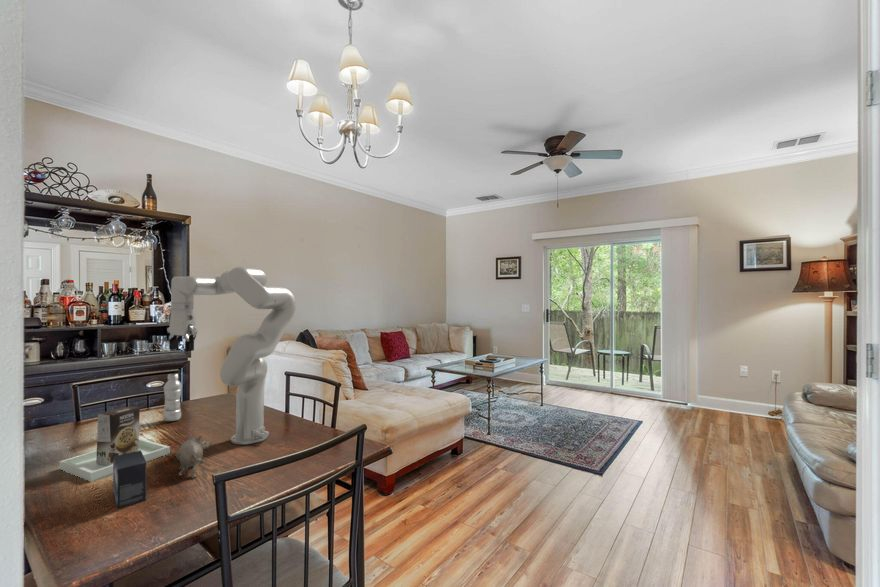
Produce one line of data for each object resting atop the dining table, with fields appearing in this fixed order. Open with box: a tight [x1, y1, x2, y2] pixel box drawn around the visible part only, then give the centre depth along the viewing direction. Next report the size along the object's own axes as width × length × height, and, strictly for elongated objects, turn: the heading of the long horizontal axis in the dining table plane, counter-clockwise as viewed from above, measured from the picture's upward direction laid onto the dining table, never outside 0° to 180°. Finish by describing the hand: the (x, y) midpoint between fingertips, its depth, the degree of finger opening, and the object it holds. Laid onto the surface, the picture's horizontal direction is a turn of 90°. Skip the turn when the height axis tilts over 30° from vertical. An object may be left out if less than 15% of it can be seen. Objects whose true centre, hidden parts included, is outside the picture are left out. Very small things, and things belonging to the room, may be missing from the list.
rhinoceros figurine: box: [175, 434, 213, 479], centre depth 122 cm, size 8×14×15 cm
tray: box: [58, 437, 171, 483], centre depth 127 cm, size 18×22×3 cm
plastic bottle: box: [162, 373, 183, 422], centre depth 168 cm, size 6×7×20 cm
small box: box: [112, 450, 148, 509], centre depth 106 cm, size 11×6×10 cm, turn 45°
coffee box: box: [96, 406, 141, 466], centre depth 127 cm, size 9×6×16 cm
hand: (181, 350), depth 156 cm, fingers open, 9 cm apart
